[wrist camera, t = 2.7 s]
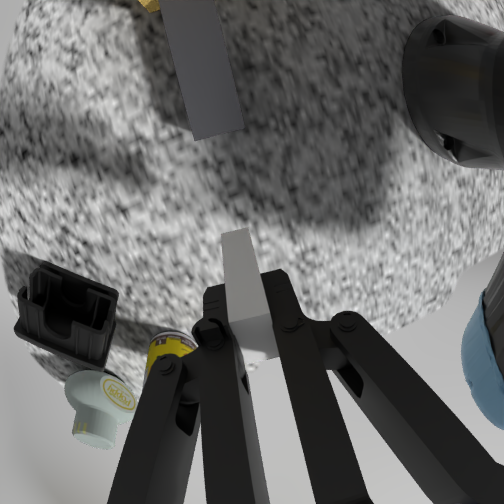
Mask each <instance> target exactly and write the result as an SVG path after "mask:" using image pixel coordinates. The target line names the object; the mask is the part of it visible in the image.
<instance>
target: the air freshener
mask: <svg viewBox="0 0 504 504" xmlns="http://www.w3.org/2000/svg"><path fill="white" fill-rule="evenodd" d="M64 389H65V395H66V397H67V400H68V402H69V403H70V405H71V406H72V407H73V408H74V409H75V410H76V416H75V420H74V426H73V430H72V434H73V436H74V437H75V438H76V439H77V440H79V441H80V442H82V443H84V444H86V445H89V446H92V447H95V448H99V449H106V450H107V449H112V448H113V447H114V446H115V439H116V432H117V425H121V424H124V423H127V422H129V421H130V420H132V419H133V417H134V414H135V411H136V408H137V405H138V402H137V399H136V397H135V395H134V393H133V392H132V391H131V390H130V388H129V387H128V386H127V385H126V384H125V383H123V382H122V381H121V380H119V379H118V378H116V377H115V376H112V375H110V374H107V373H104V372H99V371H94V370H83V371H78V372H76V373H74V374H72V375H71V376H69V378H68V379H67V380H66V383H65V388H64Z"/></svg>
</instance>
